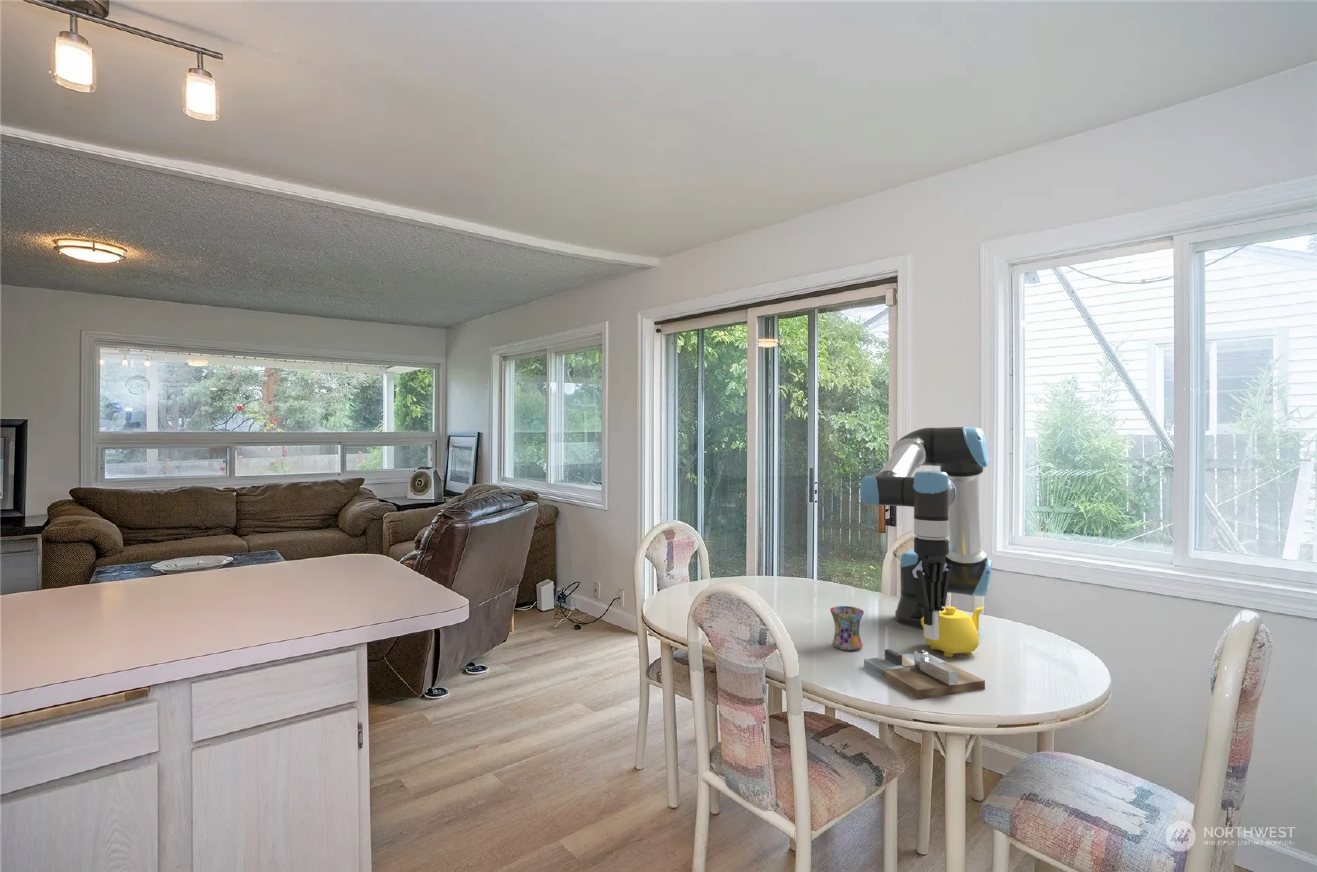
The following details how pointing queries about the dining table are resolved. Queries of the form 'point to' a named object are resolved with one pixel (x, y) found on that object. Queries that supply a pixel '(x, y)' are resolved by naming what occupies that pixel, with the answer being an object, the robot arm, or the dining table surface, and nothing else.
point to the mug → (847, 627)
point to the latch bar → (934, 668)
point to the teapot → (956, 632)
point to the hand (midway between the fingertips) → (931, 638)
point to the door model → (919, 676)
